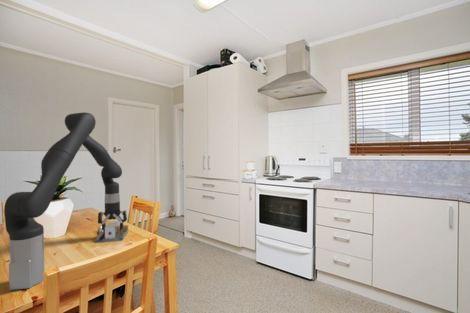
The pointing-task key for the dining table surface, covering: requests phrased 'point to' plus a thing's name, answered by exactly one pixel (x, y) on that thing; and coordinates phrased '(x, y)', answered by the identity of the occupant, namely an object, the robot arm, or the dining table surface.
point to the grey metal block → (112, 230)
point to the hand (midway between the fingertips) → (112, 229)
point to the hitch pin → (100, 230)
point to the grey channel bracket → (119, 238)
